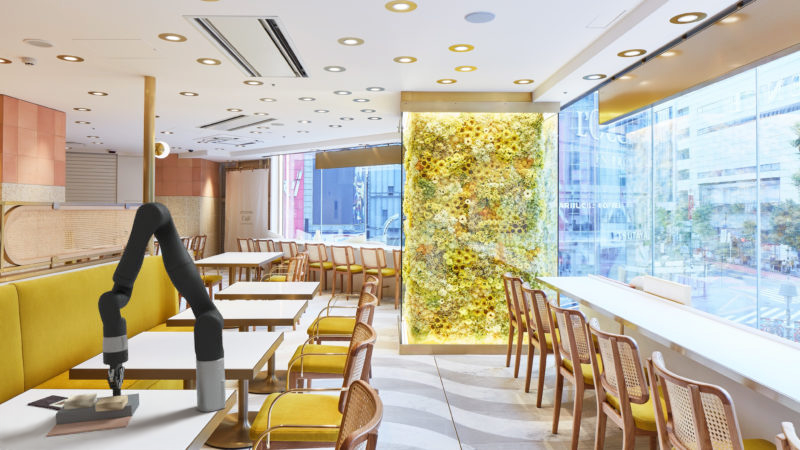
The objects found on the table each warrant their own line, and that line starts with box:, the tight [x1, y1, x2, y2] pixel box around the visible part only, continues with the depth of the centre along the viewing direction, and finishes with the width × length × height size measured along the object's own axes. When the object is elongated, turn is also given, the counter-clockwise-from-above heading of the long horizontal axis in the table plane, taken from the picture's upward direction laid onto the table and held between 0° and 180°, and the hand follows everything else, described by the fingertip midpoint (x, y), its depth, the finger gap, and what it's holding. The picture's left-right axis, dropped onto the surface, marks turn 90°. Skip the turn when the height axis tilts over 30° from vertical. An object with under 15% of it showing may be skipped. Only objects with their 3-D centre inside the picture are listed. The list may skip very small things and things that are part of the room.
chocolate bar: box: [27, 394, 69, 411], centre depth 186 cm, size 9×1×18 cm
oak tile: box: [95, 394, 129, 412], centre depth 170 cm, size 8×6×2 cm
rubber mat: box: [45, 416, 132, 438], centre depth 164 cm, size 22×8×1 cm, turn 106°
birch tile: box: [64, 392, 98, 410], centre depth 173 cm, size 8×6×2 cm
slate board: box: [55, 393, 140, 425], centre depth 174 cm, size 22×12×4 cm, turn 106°
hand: (117, 398), depth 175 cm, fingers closed
